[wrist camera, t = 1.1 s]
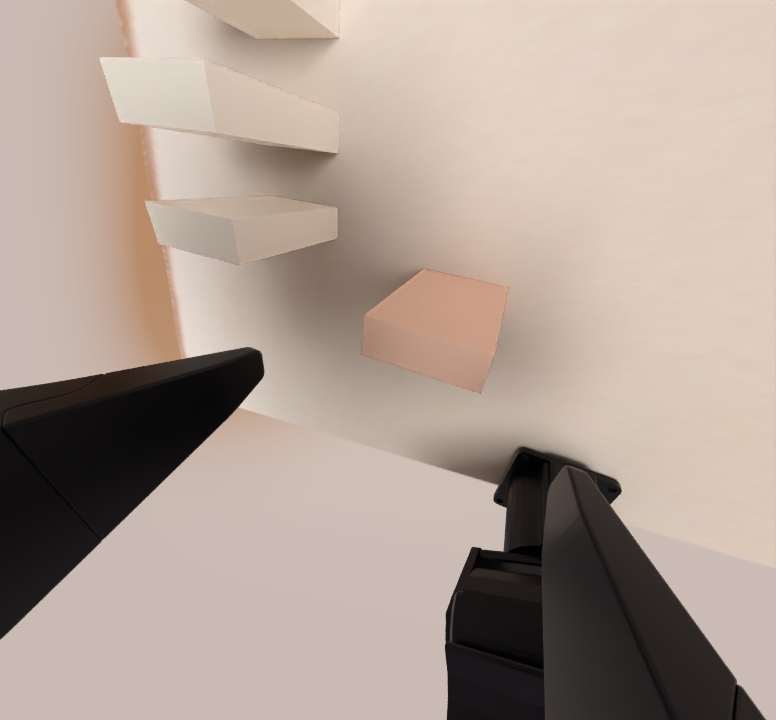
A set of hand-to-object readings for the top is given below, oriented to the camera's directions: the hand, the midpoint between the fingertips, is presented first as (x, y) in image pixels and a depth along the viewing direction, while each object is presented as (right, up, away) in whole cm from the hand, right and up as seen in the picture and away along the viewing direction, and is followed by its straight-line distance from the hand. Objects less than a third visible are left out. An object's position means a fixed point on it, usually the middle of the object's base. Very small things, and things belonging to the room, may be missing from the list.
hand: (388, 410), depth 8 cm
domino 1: (+4, +5, +9) cm, 12 cm away
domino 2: (-5, +11, +11) cm, 16 cm away
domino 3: (-5, +15, +8) cm, 17 cm away
